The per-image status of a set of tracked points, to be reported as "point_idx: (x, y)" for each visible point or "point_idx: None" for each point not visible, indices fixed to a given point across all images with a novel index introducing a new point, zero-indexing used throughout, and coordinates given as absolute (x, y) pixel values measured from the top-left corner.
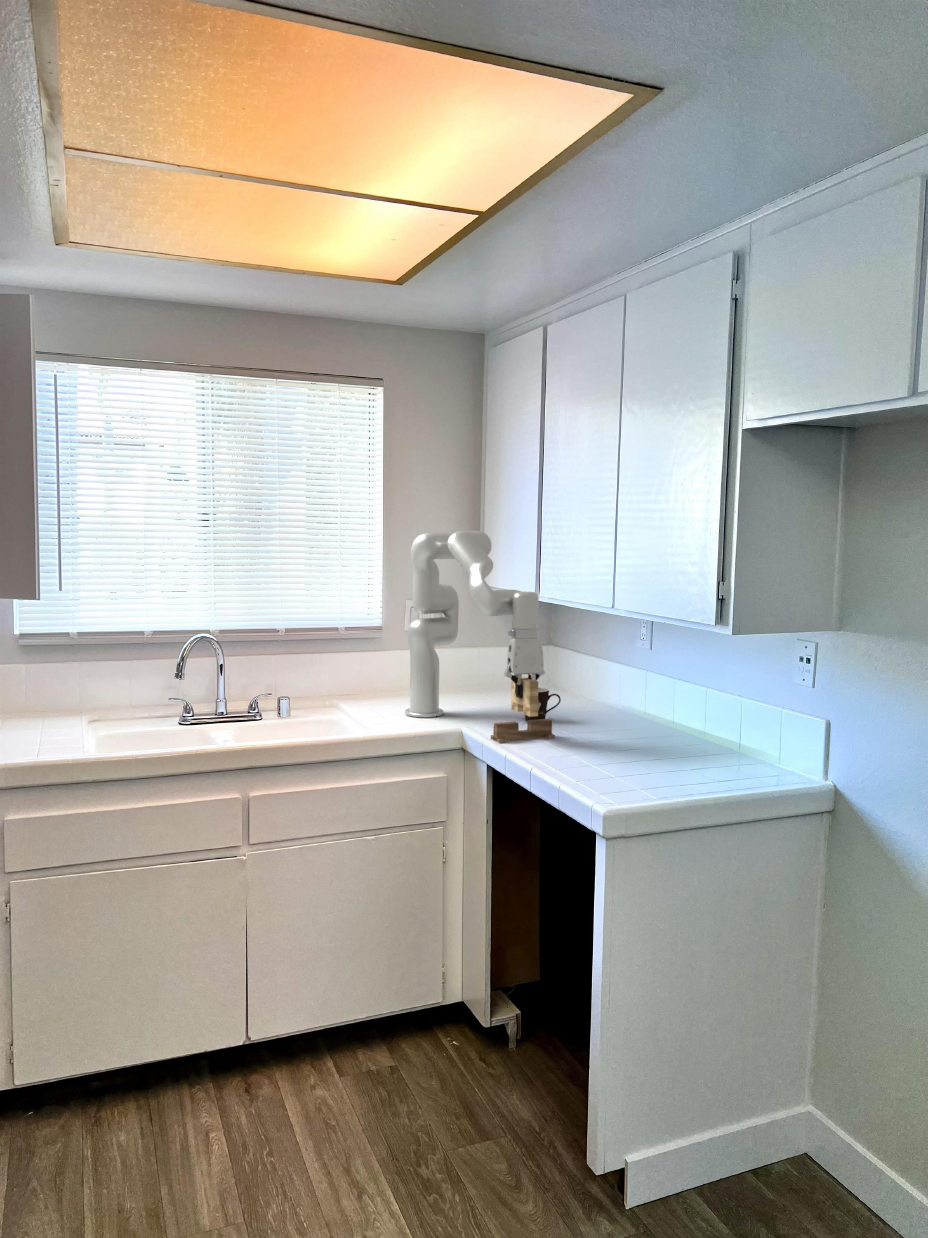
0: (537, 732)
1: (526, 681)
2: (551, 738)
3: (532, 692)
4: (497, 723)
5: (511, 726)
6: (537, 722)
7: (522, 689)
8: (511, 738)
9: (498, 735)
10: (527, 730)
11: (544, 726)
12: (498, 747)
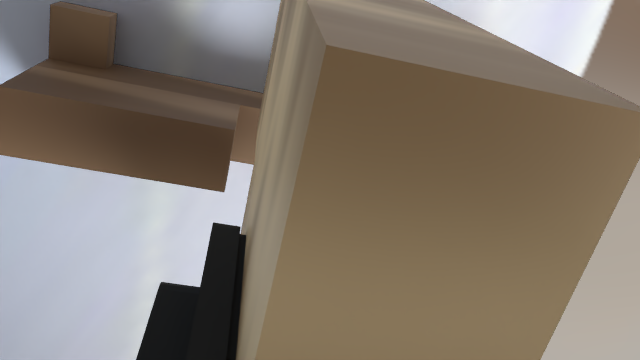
0: (179, 89)
1: (538, 334)
2: (91, 9)
3: (447, 28)
4: None
5: None
6: (166, 114)
7: None
8: None
9: None
10: (245, 140)
11: (102, 87)
12: (605, 3)
